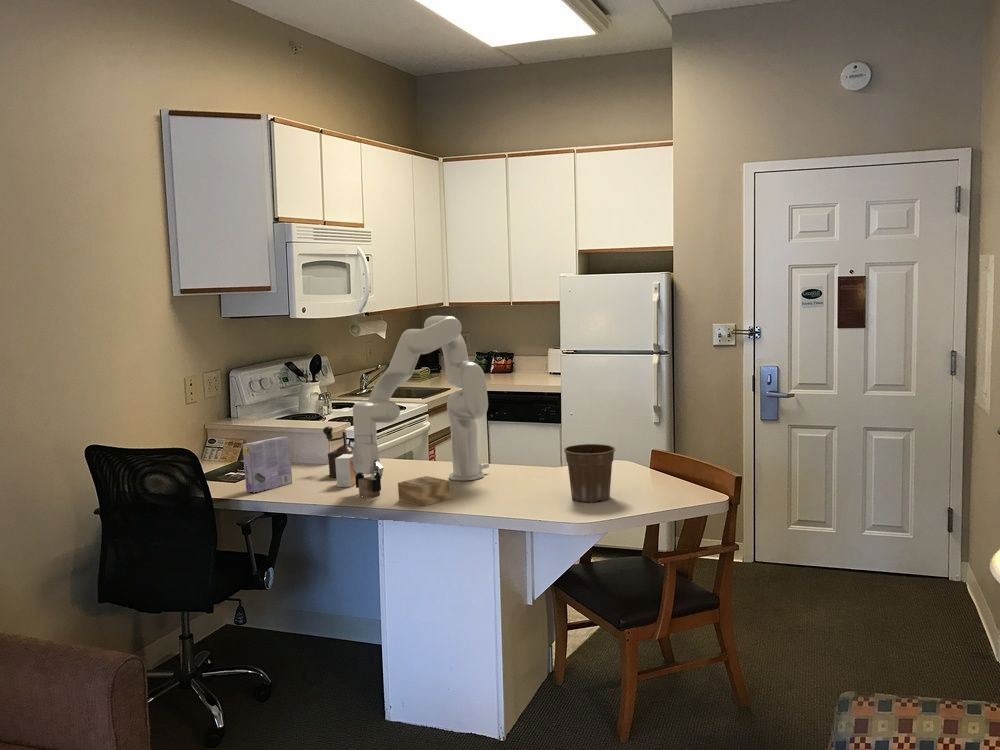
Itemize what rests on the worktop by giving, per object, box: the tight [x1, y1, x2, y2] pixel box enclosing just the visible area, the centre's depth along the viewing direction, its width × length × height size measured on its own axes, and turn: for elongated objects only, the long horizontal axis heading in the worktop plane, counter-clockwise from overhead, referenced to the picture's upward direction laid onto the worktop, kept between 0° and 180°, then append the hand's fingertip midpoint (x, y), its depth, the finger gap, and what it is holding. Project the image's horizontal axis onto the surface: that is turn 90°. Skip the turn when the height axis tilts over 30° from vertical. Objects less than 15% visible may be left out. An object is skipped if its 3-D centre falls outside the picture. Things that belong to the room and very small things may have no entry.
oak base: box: [397, 475, 451, 507], centre depth 299 cm, size 12×12×6 cm
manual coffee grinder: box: [322, 426, 354, 478], centre depth 345 cm, size 16×11×18 cm
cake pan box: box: [242, 436, 293, 494], centre depth 328 cm, size 19×5×18 cm, turn 145°
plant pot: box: [563, 443, 616, 503], centre depth 290 cm, size 16×16×16 cm
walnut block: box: [358, 475, 381, 499], centre depth 309 cm, size 5×5×6 cm
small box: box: [335, 454, 356, 488], centre depth 327 cm, size 8×6×10 cm
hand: (368, 489), depth 309 cm, fingers open, 9 cm apart
